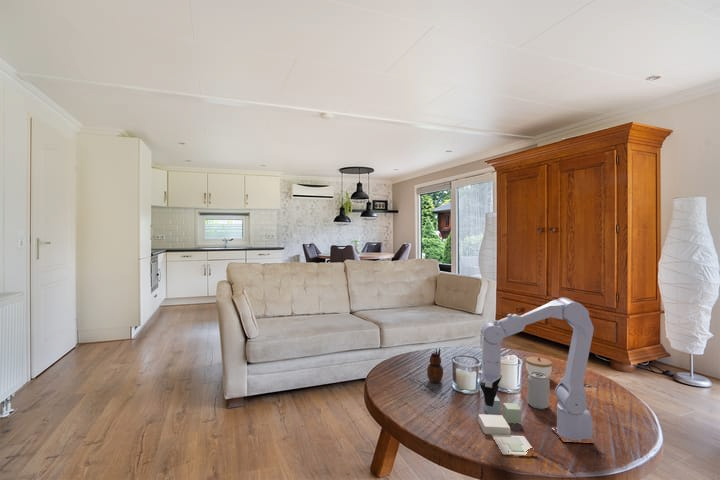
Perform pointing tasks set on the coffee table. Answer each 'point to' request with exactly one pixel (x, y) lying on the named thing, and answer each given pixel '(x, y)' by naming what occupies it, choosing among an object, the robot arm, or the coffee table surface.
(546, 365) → the lidded jar
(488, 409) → the slate block
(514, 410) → the sage block
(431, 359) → the wooden figurine
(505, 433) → the white square slab
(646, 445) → the coffee table surface
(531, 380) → the can
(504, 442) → the tile
